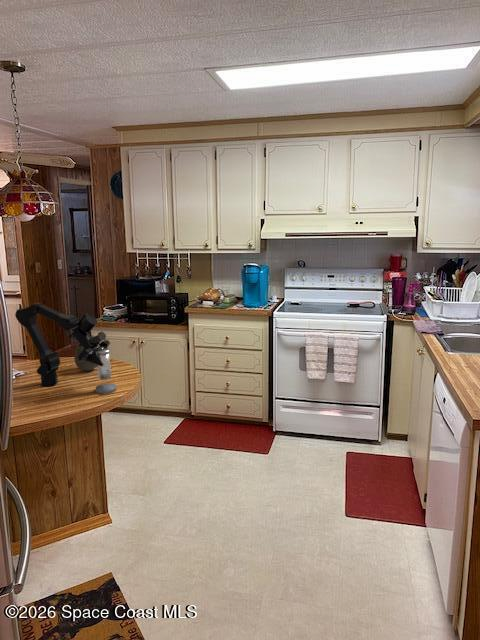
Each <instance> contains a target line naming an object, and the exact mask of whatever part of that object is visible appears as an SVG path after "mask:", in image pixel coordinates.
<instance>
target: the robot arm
mask: <svg viewBox="0 0 480 640" xmlns="http://www.w3.org/2000/svg"><path fill="white" fill-rule="evenodd" d="M37 314H39V315H41V316H43V317H45V318H47V319H49V320H50V321H53V322H55V323H56V324H57V325H58V327H59V328H61V329H62V330H63V331H66V332H67V331H69V332H68V339H72V338H74V339H75V341H77V342H78V343H79V345H78V346H79V347H83V348H84V349H83V350H82V351H81V352H80V353H79V354H78V356H77V359H78V360H79V361H80V362H81V361H83V360H84V357H86V359H85V361H89V362H92V363H94V364H97V365H99V366H103V363H102V362H101V361H100V359H99V358H98V357H97V355H96V350H97V349H101V348H108V347H109V346H110V345H111V342H110V341H109V339H106V337H107V334H106V333H105V332H104V331H100V332H97V335H90V334H89V333H90V332H92V330H93V329H94V328H95V327H96V325H98V320H97V318H96V317H94V316H92V315H90V314H89V313H85V314H84V315H83V316H82V317H81V318H78V317H77V316H76V315H72V314H68V313H67V314H66V313H65V314H64V313H61V312H60V311H57V310H55V309H53V308H51V307H49V306H48V305H45V304H44V303H43V302H37V303H33V304H31V305H30V306H27V307H23V308H20V309H19V308H18V309H16V311H15V314H14V316H15V318H16V320H17V321H18V323H19V324H20V325H21V326H23V328H25V329H26V331H27V332H28V334H29V337H30V338H31V340H32V342H33V345H34V346H35V348H36V350H37V351H38V354H39V360H38V361H39V363H40V366H39V367H38V368H37V369H36V373H37V374H38V375H39V376H40V381H41V383H40V385H39V387H55V386H56V385H57V384H58V383H59V377H58V373H57V371H58V370H59V367H60V365H61V360H60V359H61V358H60V357H59V355H58V352H57V351H54V352H53V351H52V350H51V349H50V347H49V345H48V344H47V343H48V342H46V339H45V337H44V336H43V333H42V331H41V330H40V328H39V325H38V323H37ZM70 330H72V331H70ZM111 362H112V360H111V359H110V363H111Z"/></svg>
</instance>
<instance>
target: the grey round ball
mask: <svg viewBox="0 0 480 640" xmlns="http://www.w3.org/2000/svg"><path fill="white" fill-rule="evenodd" d="M83 349H84V348H83V347H79V345H78V346H77V347H76V349H75V352H74V357H73V358H74V363H75V365H76V367H77V368H78V369H79V370H81V371H84V372H89V371H93V370H95V369H96V368H98V365H97V364H94V363H92V362H89V361H85V359H86V357H84V360H83V361H81V362H80V361H79V360H78V359H77V356H78V354H79V353H80V352H81V351H82V350H83ZM96 355H97V353H96Z"/></svg>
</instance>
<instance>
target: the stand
mask: <svg viewBox="0 0 480 640" xmlns="http://www.w3.org/2000/svg"><path fill="white" fill-rule="evenodd" d="M116 391H117V384H115V383H112V382H110V383H109V382H107V383H102V384H98V385H96V386H95V393H96V394H98V395H108V394H109V395H110V394H113V393H115V392H116Z"/></svg>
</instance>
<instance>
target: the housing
mask: <svg viewBox="0 0 480 640" xmlns="http://www.w3.org/2000/svg"><path fill="white" fill-rule="evenodd" d="M96 353H97V357H98V358H99V359H100V361H101V362H102V363H103V366H99V365H98V366H97V376H98V379H99V380H108V379H111V378H112V372H111V371H112V370H111V369H112V367H111V362H110V360H111V357H110V356H111V348H108V347H107V348H101V349H97V350H96Z"/></svg>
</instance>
